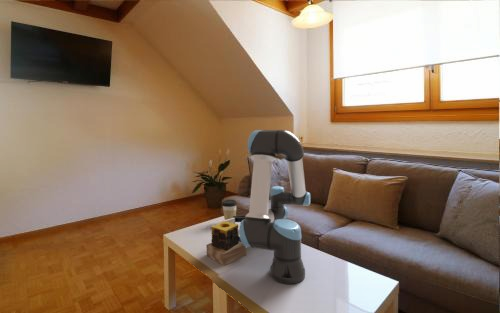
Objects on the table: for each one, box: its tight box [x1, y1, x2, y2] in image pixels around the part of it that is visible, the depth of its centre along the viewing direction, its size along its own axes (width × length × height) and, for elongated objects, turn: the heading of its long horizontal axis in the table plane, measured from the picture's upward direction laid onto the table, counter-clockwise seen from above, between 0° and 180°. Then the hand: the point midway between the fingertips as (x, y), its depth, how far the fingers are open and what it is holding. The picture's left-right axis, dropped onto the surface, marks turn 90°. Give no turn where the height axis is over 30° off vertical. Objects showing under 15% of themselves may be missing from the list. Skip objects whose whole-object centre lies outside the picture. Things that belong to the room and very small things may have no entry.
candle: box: [211, 220, 240, 251], centre depth 134 cm, size 10×10×10 cm
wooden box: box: [206, 241, 247, 267], centre depth 135 cm, size 14×14×6 cm
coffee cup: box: [221, 199, 238, 220], centre depth 176 cm, size 10×10×15 cm
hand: (230, 227), depth 136 cm, fingers open, 13 cm apart
